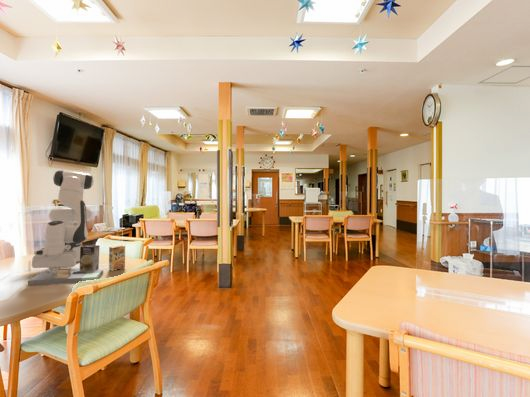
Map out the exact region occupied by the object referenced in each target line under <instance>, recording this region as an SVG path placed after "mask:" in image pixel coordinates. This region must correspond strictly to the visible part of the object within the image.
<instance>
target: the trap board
mask: <svg viewBox="0 0 530 397" xmlns="http://www.w3.org/2000/svg"><path fill="white" fill-rule="evenodd" d="M101 275H102V276H103V275H104V269H99V270H86V271H80V270H71V276H69V277H68V278H57V275H51V272H50V271H44V272H41V273H38V274H37V275H35V276H34V277H32V278H30V279H28V280H27V286H41V285H59V284H60V285H61V284H73V283H74V284H75V283H77V282H79V281H86V280H94V279H98V278H99V277H100V276H101ZM102 276H101V277H102ZM101 277H100V278H101ZM100 278H99V279H100ZM99 279H98V280H99ZM79 283H80V282H79Z"/></svg>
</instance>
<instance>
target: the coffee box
mask: <svg viewBox="0 0 530 397" xmlns="http://www.w3.org/2000/svg"><path fill="white" fill-rule="evenodd" d="M99 267H100V245H95V244H85V245H81V247H80V261H79V271H86V270H98V269H99ZM99 270H100V269H99Z"/></svg>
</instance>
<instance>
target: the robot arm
mask: <svg viewBox="0 0 530 397" xmlns="http://www.w3.org/2000/svg"><path fill="white" fill-rule="evenodd" d="M52 180H53V184H54V185H56V186H57V187H60V188H59V191H58V197H57V199H58V201H59V204H61V205H62V206H63V207H56V208H52V209H51V210H50V211H49V213H48V218H49V220H50V221H49V222H47V224H46V227H45V237H44V238H45V244H44V247H43V248H39V249H37V250H35V251H34V252H33V257H32V259H31V267H32V268H33V269H41V268H42V269H46V268H48V272H51V275H57V270H59V269H60V268H73V267H75V266H76V265H77V262H78V263H80V247H81V246H82V243H83V242H84V241H86V240H87V239H88V237H89V236H88V235H89V233H88V232H89V231H88V224H87V222H89V221H91V219H92V217H93V211H92V210H91V209H90V208H89V207H87V206H86V203H85V201H84V192H85V191H84V190H89V189H91V188H92V187H93V185H94V181H95V180H94V177H93V176H92V175H91V174H90V173H83V172H78V171H71V170H69V171H67V170H56V171H55V172H54V174H53V177H52ZM71 223H77V224H76V225H71ZM54 268H55V269H56V271H54V270H53V269H54Z"/></svg>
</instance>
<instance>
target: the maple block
mask: <svg viewBox="0 0 530 397" xmlns="http://www.w3.org/2000/svg"><path fill="white" fill-rule="evenodd" d="M56 270H57V269H56ZM71 271H72V267H60V269H59V270H57V278H68V277H69V276H71Z"/></svg>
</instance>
